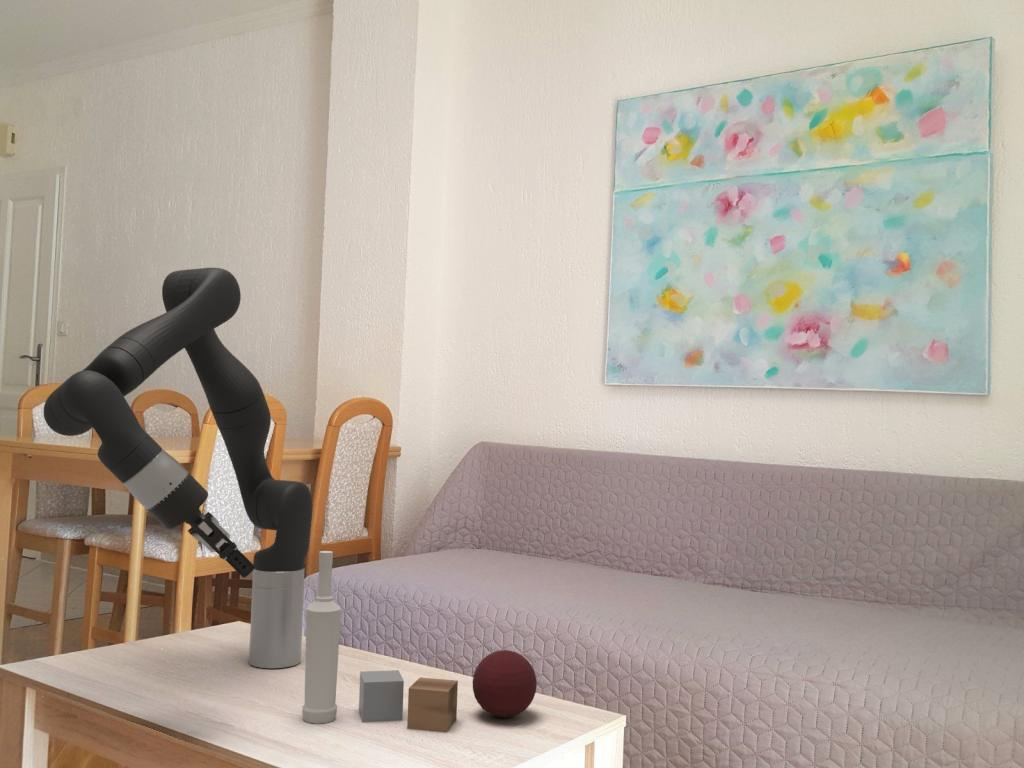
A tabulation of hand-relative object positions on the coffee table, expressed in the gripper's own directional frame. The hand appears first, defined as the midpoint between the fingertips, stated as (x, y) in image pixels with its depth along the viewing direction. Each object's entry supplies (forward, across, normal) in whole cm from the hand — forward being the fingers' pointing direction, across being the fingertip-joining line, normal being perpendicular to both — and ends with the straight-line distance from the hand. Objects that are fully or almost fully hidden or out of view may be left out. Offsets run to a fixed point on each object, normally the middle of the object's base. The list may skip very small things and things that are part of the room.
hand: (245, 568), depth 136 cm
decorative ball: (+44, -8, -11) cm, 46 cm away
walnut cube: (+36, -8, -3) cm, 36 cm away
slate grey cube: (+31, -1, +1) cm, 31 cm away
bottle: (+25, 0, +8) cm, 26 cm away
